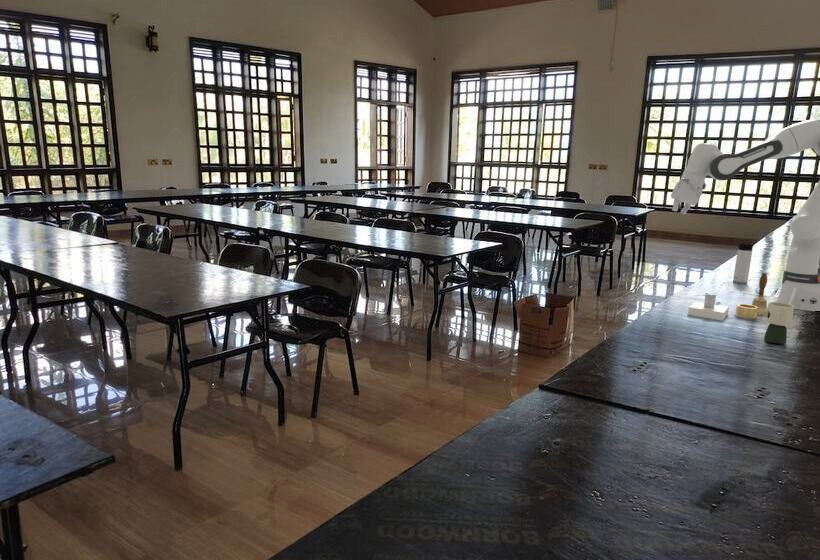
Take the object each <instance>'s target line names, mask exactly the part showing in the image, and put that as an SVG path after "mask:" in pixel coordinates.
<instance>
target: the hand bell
mask: <svg viewBox="0 0 820 560" xmlns="http://www.w3.org/2000/svg"><path fill="white" fill-rule="evenodd" d="M767 284H768V275H767V273H766V272H762V274H761V276H760V278H759V280H758V285H759V290H758V296H757V297H755V298H753V300H752V303H751V305H753V306H757V307H758V312H757V316H758V315H759V316H766V314H767V309H768V302H767V299H766V298H765V297H764V295H765V294H764V293H765V288H766V286H767Z"/></svg>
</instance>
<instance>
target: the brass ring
mask: <svg viewBox="0 0 820 560" xmlns="http://www.w3.org/2000/svg"><path fill="white" fill-rule="evenodd" d="M757 312H758V307H757V306H753V305H752V304H748V303H747V304H746V303H737V305H736V309H735V316H736V317H738V316H739V318H743V319H751V320H754V319H757V317H758V314H757Z"/></svg>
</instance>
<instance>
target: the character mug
mask: <svg viewBox="0 0 820 560" xmlns="http://www.w3.org/2000/svg"><path fill="white" fill-rule="evenodd" d="M794 311H795V309H794V306H793V305H790V304H786V303H780V302H775V301H770V302H767V314H766V315H765V322H766V323H769V324H768V325H767V328H766V331H765V334H764V337H763V340H764V341H765V342H768V343H772V344H773V345H775V344H783V345H784V344H787V339H788V338H787V337H788V336H787V331H788V329H787V327H789V326H791V325H792V321H793V315H794Z"/></svg>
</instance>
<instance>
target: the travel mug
mask: <svg viewBox="0 0 820 560" xmlns="http://www.w3.org/2000/svg"><path fill="white" fill-rule="evenodd" d="M753 248H754V244H750V243H744V244H743V243H738V247H737V252H736V258H735V259H736V260H735V264H734V271H733V278H732V282H733V284H737V283H738V285H747V284H748V280H749V274H750V268H751V262H752V255H753Z"/></svg>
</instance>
